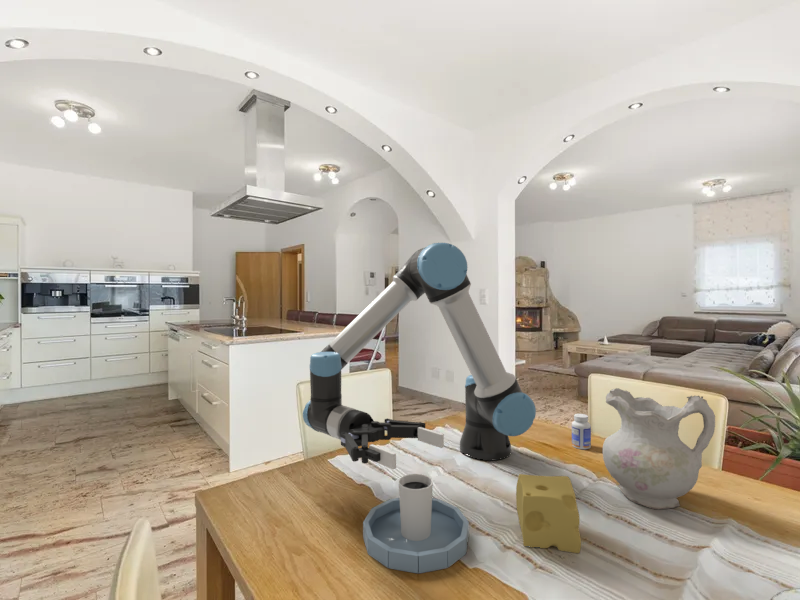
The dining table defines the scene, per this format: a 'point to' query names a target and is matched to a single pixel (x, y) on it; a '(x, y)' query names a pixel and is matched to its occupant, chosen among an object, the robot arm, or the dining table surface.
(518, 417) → the robot arm
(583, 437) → the pill bottle
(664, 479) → the ceramic pitcher
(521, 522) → the cheese
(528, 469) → the dining table surface
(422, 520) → the white coffee cup
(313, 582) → the dining table surface
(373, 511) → the blue round tray
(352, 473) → the dining table surface
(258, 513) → the dining table surface
